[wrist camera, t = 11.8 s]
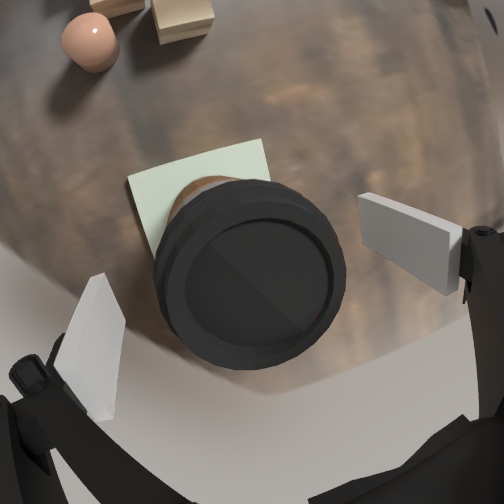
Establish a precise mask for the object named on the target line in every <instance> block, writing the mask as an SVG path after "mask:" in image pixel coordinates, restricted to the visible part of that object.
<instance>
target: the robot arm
mask: <svg viewBox="0 0 504 504" xmlns="http://www.w3.org/2000/svg"><path fill="white" fill-rule="evenodd" d="M357 197H358V205H359V214H360V223H361V233H362V244H364V245H366V246H367V247H369V248H370V249H372V250H374V251H375V252H377V253H379V254H380V255H382V256H384V257H385V258H387V259H388V260H390V261H392V262H393V263H395V264H396V265H398V266H400V267H401V268H403V269H404V270H406V271H408V272H409V273H411V274H412V275H414V276H415V277H417V278H419V279H420V280H422V281H423V282H425V283H426V284H428V285H429V286H431V287H432V288H434V289H435V290H437V291H438V292H440V293H441V294H443V295H444V296H448V295H449V294H451V293H453V292H455V291H457V290H458V285H459V276H460V277H462V278H464V279H465V280H466V281H465V289H464V297H463V304H465V301H466V300H467V303H468V309H469V314H470V320H471V327H472V333H473V340H474V348H475V357H476V365H477V378H478V392H479V419H477V420H473V421H471V422H470V421H469V420H468V419H467V418H466V417H465V416H464V415H463V414H462V415H461V416H459V417H458V418H457V419H455V420H454V421H452V422H451V423H450V424H448V425H447V426H446V427H444V428H442V429H441V430H440V431H438V432H437V433H435V434H434V435H432V436H431V437H430V438H429V439H428V440H427V441H426V442H425V443H424V444H423V446H421V447H420V448H419V449H418V450H417V451H416V452H415V454H414V455H413V456H411V458H409V459H408V460H407V461H406V462H405V463H404V464H403V465H402V466H400V467H398V468H396V469H393V470H389V471H386V472H383V473H379V474H375V475H372V476H368V477H364V478H360V479H356V480H352V481H349V482H347V483H345V484H343V485H341V486H338V487H336V488H334V489H331V490H329V491H327V492H324V493H322V494H319V495H317V496H314V497H312V498H309V499H308V502H309V504H504V232H503V233H498V232H497V231H496V230H495V229H493V228H490V227H487V226H475V227H472V228H471V229H470V230H467V229H465V228H462V227H461V226H459V225H456V224H454V223H451V222H449V221H446V220H444V219H441V218H439V217H436V216H433V215H431V214H428V213H426V212H423V211H420V210H418V209H415V208H412V207H410V206H407V205H404V204H401V203H399V202H396V201H393V200H390V199H387V198H384V197H382V196H379V195H376V194H373V193H370V192H368V193H365V194H361V195H357ZM125 323H126V320H125V318H124V316H123V313H122V311H121V309H120V307H119V305H118V303H117V301H116V298H115V296H114V294H113V292H112V289H111V287H110V285H109V283H108V280H107V278H106V276H105V273H102V274H99V275H96V276H93V277H90V279H89V281H88V284H87V286H86V288H85V290H84V292H83V294H82V297H81V299H80V301H79V303H78V306H77V308H76V310H75V312H74V315H73V317H72V319H71V322H70V324H69V327H68V329H67V332H66V333H63V334H62V335H61V336H60V337H59V338H58V339H57V340H56V342H55V343H54V346H53V348H52V351H51V353H50V356H49V357H50V358H48V361H47V363H46V366H45V365H44V364H43V362H42V361H41V359H40V358H39V356H37V355H36V354H30V355H27V356H25V357H23V358H21V359H20V360H18V361H17V362H16V363H15V364H14V365H13V366H12V368H11V369H10V372H9V378H10V380H11V381H12V382H13V384H14V385H15V387H16V388H17V389H18V391H19V392H20V393H21V394H22V395H23V397H24V398H22V399H20V400H18V401H16V402H13V403H10V402H9V401H8V400H7V398H6V397H5V396H3V395H0V504H68V501H67V499H66V496H65V493H64V491H63V489H62V486H61V483H60V480H59V477H58V474H57V471H56V469H55V466H54V462H53V459H52V456H51V453H50V450H51V449H53V448H56V449H57V450H58V452H59V453H60V454H61V456H62V457H63V459H64V460H65V461H66V463H67V464H68V465H69V466H70V467H71V469H72V470H73V471H74V473H75V474H76V475H77V477H78V478H79V479H80V480H81V481H82V483H83V484H84V485H85V486H86V487H87V489H88V490H89V491H90V492H91V493H92V494H93V496H94V497H95V498H96V499H97V500H98V501H99V502H100V503H101V504H197V503H196V502H191V501H189V500H187V499H186V498H185V497H183V496H182V495H180V494H179V493H177V492H176V491H175V490H173V489H172V488H171V487H169V486H168V485H167V484H165V483H164V482H162V481H161V480H160V479H159V478H157V477H156V476H155V475H153V474H152V473H151V472H149V471H148V470H147V469H146V468H145V467H143V466H142V465H141V464H140V463H139V462H137V461H136V460H135V459H134V458H133V457H131V456H130V455H129V454H128V453H127V452H126V451H124V450H123V449H122V448H121V447H120V446H119V445H118V444H117V443H115V442H114V441H113V440H112V439H111V438H110V437H109V436H108V435H107V434H106V433H105V432H104V431H103V430H101V428H100V427H99V426H97V425H96V424H95V423H94V422H93V421H92V420H91V419H90V418H89V417H88V416H87V412H88V414H89V415H90V416H91V417H92V419H93V420H94V421H95V422H101V421H106V420H111V419H114V412H115V400H116V390H117V381H118V373H119V365H120V357H121V348H122V342H123V335H124V329H125Z"/></svg>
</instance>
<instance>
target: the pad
mask: <svg viewBox="0 0 504 504" xmlns="http://www.w3.org/2000/svg"><path fill="white" fill-rule="evenodd" d="M212 175H214V176H218V175H221V176H228V177H234V178H240V179H259V180H265V181H270V176H269V172H268V167H267V163H266V158H265V154H264V150H263V145H262V141H261V139H255V140H251V141H247V142H243V143H239V144H235V145H231V146H227V147H223V148H219V149H215V150H212V151H208V152H204V153H201V154H197V155H194V156H190V157H187V158H183V159H180V160H176V161H173V162H170V163H167V164H163V165H160V166H157V167H154V168H151V169H148V170H144V171H141V172H138V173H135V174H132V175H129V176H128V180H129V183H130V187H131V190H132V193H133V196H134V200H135V203H136V206H137V209H138V212H139V215H140V218H141V221H142V224H143V227H144V230H145V233H146V236H147V239H148V242H149V245H150V248H151V251H152V254H153V256H154V259H155V254H156V251H157V248H158V245H159V243H160V240H161V238H162V235H163V233H164V230H165V227H166V224H167V221H168V217H169V214H170V211H171V209H172V206H173V204H174V201H175V199H176V197H177V195H178V194H179V193H180V192H181V190H182V189H183V188H184V187H185V186H186V185H188V184H189V183H190V182H192V181H193V180H196V179H198V178H201V177H204V176H212Z"/></svg>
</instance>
